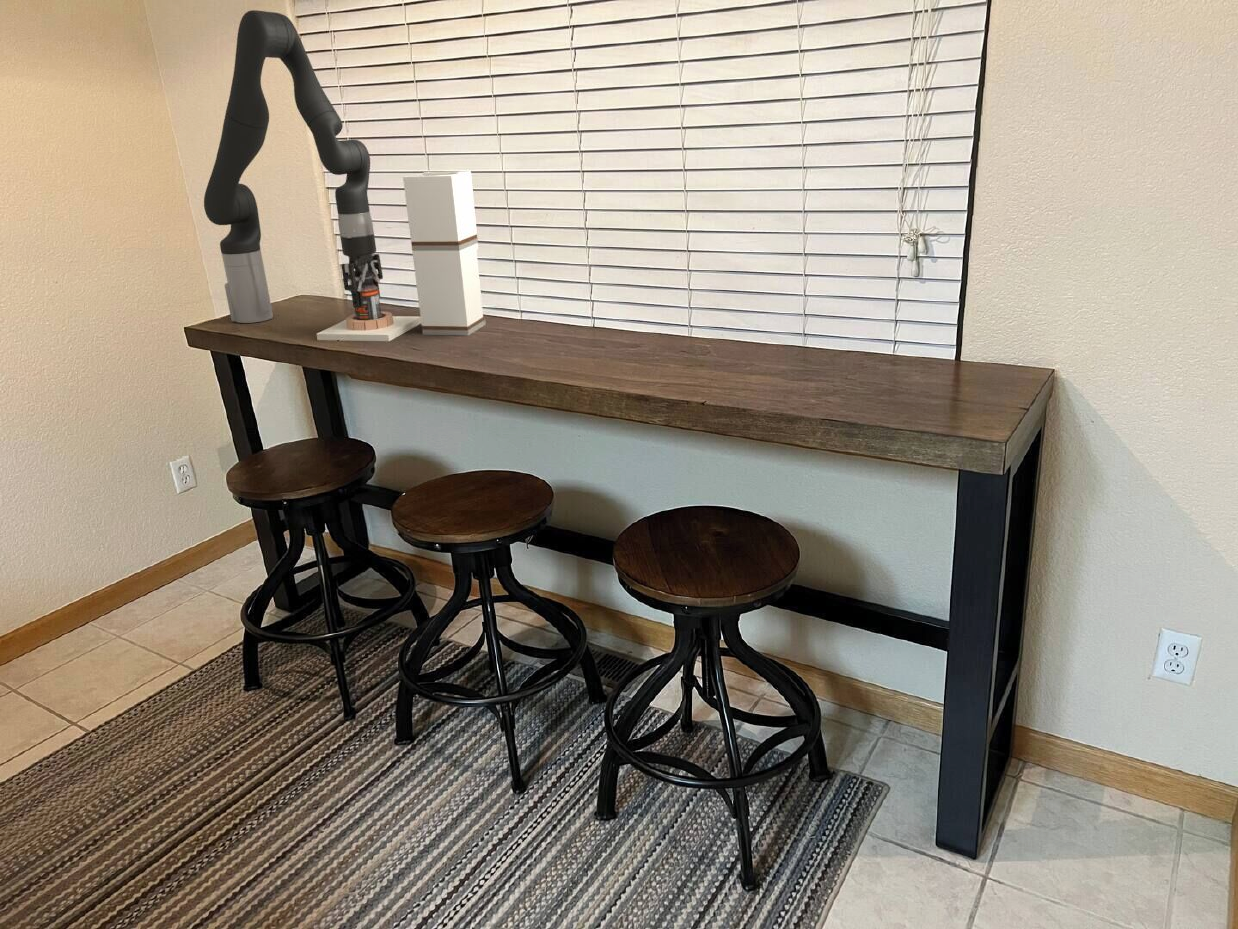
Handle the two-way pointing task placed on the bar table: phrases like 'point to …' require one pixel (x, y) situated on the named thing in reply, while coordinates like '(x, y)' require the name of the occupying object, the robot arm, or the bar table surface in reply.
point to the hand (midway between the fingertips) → (367, 303)
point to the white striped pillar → (445, 252)
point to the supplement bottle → (369, 301)
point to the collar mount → (370, 328)
